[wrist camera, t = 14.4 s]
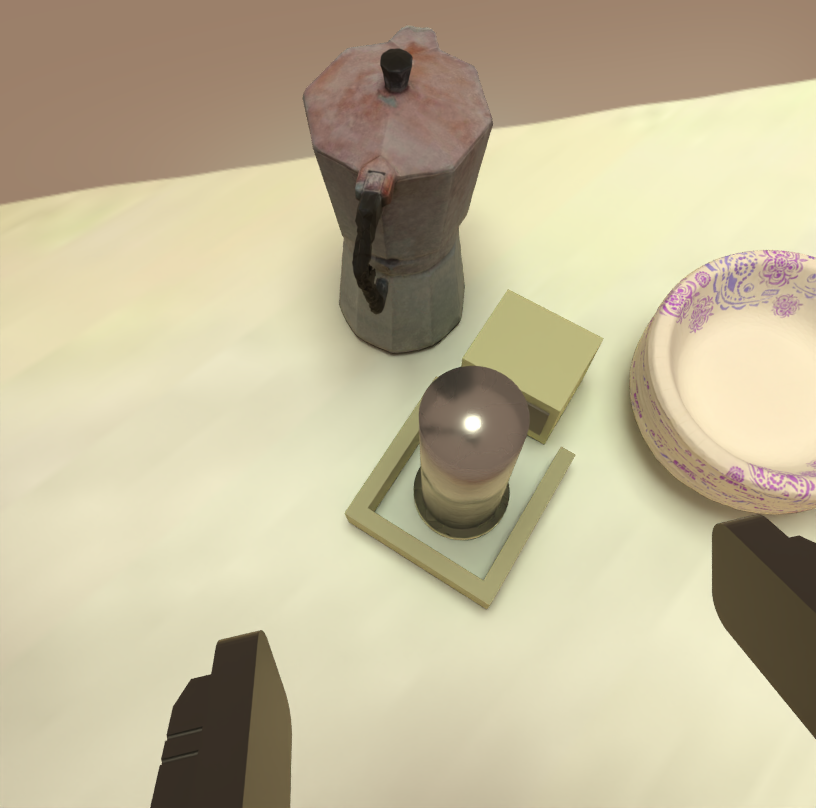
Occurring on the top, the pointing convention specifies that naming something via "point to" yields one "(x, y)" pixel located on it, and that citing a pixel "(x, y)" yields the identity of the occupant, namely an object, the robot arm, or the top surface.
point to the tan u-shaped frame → (547, 399)
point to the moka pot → (400, 181)
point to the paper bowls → (735, 381)
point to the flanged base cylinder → (468, 450)
